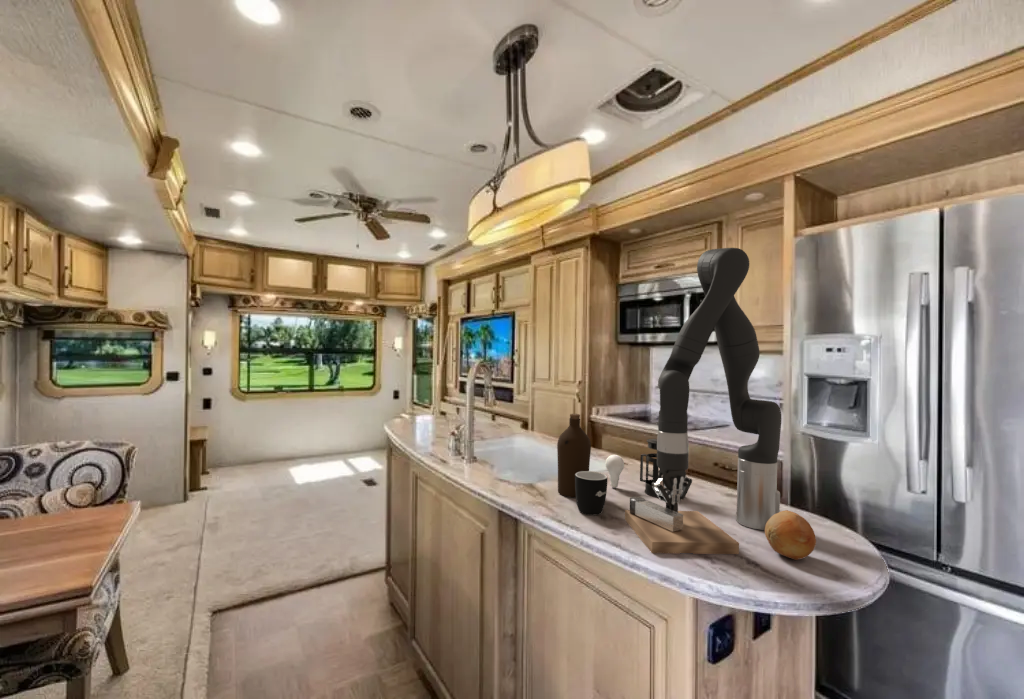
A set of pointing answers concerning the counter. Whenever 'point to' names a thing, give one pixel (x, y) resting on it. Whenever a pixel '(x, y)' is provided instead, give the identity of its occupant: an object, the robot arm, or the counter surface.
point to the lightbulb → (614, 469)
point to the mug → (590, 492)
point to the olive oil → (572, 456)
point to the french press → (655, 472)
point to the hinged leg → (656, 514)
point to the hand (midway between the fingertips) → (671, 517)
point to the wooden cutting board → (684, 535)
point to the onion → (790, 535)
